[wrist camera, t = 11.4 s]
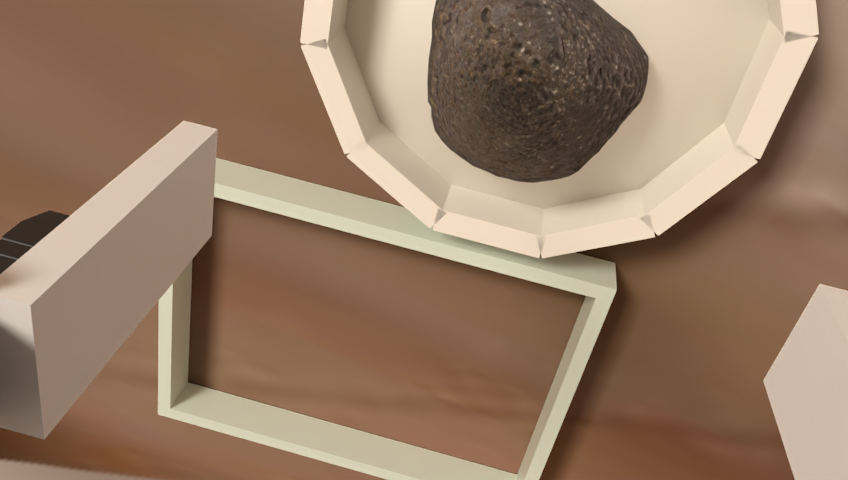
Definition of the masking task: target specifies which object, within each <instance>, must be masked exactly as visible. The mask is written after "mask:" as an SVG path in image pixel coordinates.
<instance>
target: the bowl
mask: <svg viewBox="0 0 848 480" xmlns="http://www.w3.org/2000/svg"><path fill="white" fill-rule="evenodd" d="M593 1H595V2H596V3H597V4H598V5H599V6H600V7H602V8H603V9H604V10H605V11H606V12H607V13H608V14H610V15H611V16H612V17H613V18H614V19H616V20H617V21H618V22H620V23H621V24H622V25H623V26H625V27H626V28H627V29H629V30H630V31H631V32H632V33H633V35H634V36H635V38H636V39H637V41H638V42H639V44H640V45H641V47H642V48H643V49H644V51H645V52H646V54H647V55H648V59H649V69H648V79H647V85H646V88H645V92H644V95H643V98H642V101H641V103H640V104H639V105H638V106H637V107H636V108H635V109H634V110H633V111H632V113H631V114H630V115H629V116H628V118H627V119H626V120H625V121H624V122H623V123H622V124H621V125H620V127H619V128H618V130H617V131H616V133H615V134H614V135H613V136H612V137H611V138H610V139H609V140H608V141H607V142H606V144H605V145H604V146H603V147H602V148H601V150H600V151H599V152H598V153H597V154H595V155H594V156H593V157H592V158H591V159H590V160H589V161H588V162H587V163H586V164H585V165H584V166H583V167H582V168H581V169H580V170H579V171H578V172H576V173H574V174H572V175H571V176H568V177H565V178H561V179H556V180H551V181H543V182H536V183H529V182H519V181H514V180H510V179H507V178H502V177H497V176H495V175H493V174H491V173H489V172H487V171H484V170H482V169H479V168H477V167H474V166H472V165H471V164H469V163H468V162H467V161H465V160H464V159H462V158H461V157H459V156H458V155H457V154H456V153H454V152H453V151H451V150H450V149H449V148H448V147H447V146H446V145H445V144H444V143H443V142H442V140H441V139H440V137H439V136H438V135H437V133H436V132H435V129H434V125H433V121H432V118H431V106H430V104H429V103H428V87H427V79H428V62H429V53H430V47H431V40H432V18H433V13H434V8H435V3H436V0H305V3H304V12H303V22H302V31H301V40H300V43H304V44H303V45H301V48H302V50H303V53H304V55H305V58H306V60H307V63H308V65H309V68H310V70H311V73H312V75H313V78H314V80H315V83H316V85H317V87H318V90H319V92H320V95H321V97H322V100H323V102H324V105H325V107H326V110H327V112H328V115H329V117H330V120H331V122H332V124H333V127H334V129H335V132H336V134H337V137H338V139H339V142H340V144H341V147H342V149H343V152H344V154H346V153H349V154H348V155H347V158H349V159H350V160H351V161H352V162H353V163H354V164H355V165H357V166H358V167H359V168H360V169H361V170H362V171H364V172H365V173H366V174H367V175H368V176H369V177H371V178H372V179H373V180H374V181H375V182H376V183H377V184H379V185H380V186H381V187H382V188H383V189H384V190H386V191H387V192H388V193H389V194H390V195H391V196H393V197H394V198H395V199H396V200H397V201H398V202H399V203H401V204H402V205H403V206H404V207H405V208H406V209H408V210H409V211H410V212H411V213H412V214H413V215H414V216H416V217H417V218H418V219H419V220H420V221H421V222H423V223H424V224H425V225H426V226H427V227H428V228H431V227H432V226H433V225H434V227H433V230H434V231H438V232H441V233H445V234H449V235H453V236H456V237H460V238H464V239H468V240H472V241H475V242H479V243H483V244H487V245H490V246H494V247H498V248H502V249H506V250H509V251H513V252H517V253H521V254H524V255H528V256H532V257H536V258H539V257H540V254H541V256H542V258H547V257H553V256H558V255H563V254H569V253H574V252H579V251H585V250H590V249H595V248H601V247H606V246H611V245H616V244H622V243H627V242H632V241H638V240H643V239H648V238H654V237H655V233H656V234H657V235H658V236H659V235H660V234H662V233H663V232H664V231H666V230H667V229H668V228H670V227H671V226H672V225H674V224H675V223H676V222H678V221H679V220H680V219H682V218H683V217H684V216H686V215H687V214H688V213H690V212H691V211H693V210H694V209H695V208H697V207H698V206H699V205H701V204H702V203H703V202H705V201H706V200H707V199H709V198H710V197H711V196H713V195H714V194H715V193H717V192H718V191H720V190H721V189H722V188H724V187H725V186H726V185H728V184H729V183H730V182H732V181H733V180H734V179H736V178H737V177H738V176H740V175H741V174H742V173H744V172H745V171H746V170H748V169H749V168H751V167H752V166H753V165H755V164H756V163H757V160H756V158H757V159H761V156H762V154H763V152H764V150H765V148H766V146H767V144H768V142H769V140H770V138H771V136H772V134H773V131H774V129H775V127H776V125H777V123H778V121H779V119H780V117H781V115H782V113H783V111H784V109H785V106H786V104H787V102H788V100H789V98H790V96H791V94H792V92H793V90H794V88H795V86H796V84H797V81H798V79H799V77H800V75H801V73H802V71H803V69H804V67H805V65H806V63H807V61H808V59H809V57H810V54H811V52H812V50H813V48H814V46H815V44H816V42H817V40H818V38H817V36H816V35H818V34H819V29H818V19H817V8H816V0H593ZM654 232H655V233H654Z"/></svg>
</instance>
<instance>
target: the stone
mask: <svg viewBox="0 0 848 480" xmlns="http://www.w3.org/2000/svg"><path fill="white" fill-rule="evenodd" d="M648 69H649V59H648V55H647V54H646V52H645V51H644V49H643V48H642V47H641V45H640V44H639V42H638V41H637V39H636V38H635V36H634V35H633V33H632V32H631V31H630V30H629V29H627V28H626V27H625V26H623V25H622V24H621V23H620V22H618V21H617V20H616V19H614V18H613V17H612V16H611V15H610V14H608V13H607V12H606V11H605V10H604V9H603V8H602V7H600V6H599V5H598V4H597V3H596V2H595V1H593V0H436V3H435V8H434V13H433V18H432V40H431V47H430V53H429V62H428V79H427V87H428V103H429V104H430V106H431V118H432V121H433V125H434V129H435V132H436V133H437V135H438V136H439V137H440V139H441V140H442V142H443V143H444V144H445V145H446V146H447V147H448V148H449V149H450V150H451V151H453V152H454V153H456V154H457V155H458V156H459V157H461V158H462V159H464V160H465V161H467V162H468V163H469V164H471V165H472V166H474V167H477V168H479V169H482V170H484V171H487V172H489V173H491V174H493V175H495V176H497V177H502V178H507V179H510V180H514V181H519V182H529V183H536V182H543V181H551V180H556V179H561V178H565V177H568V176H571V175H572V174H574V173H576V172H578V171H579V170H580V169H581V168H582V167H583V166H584V165H585V164H586V163H587V162H588V161H589V160H590V159H591V158H592V157H593V156H594V155H595V154H597V153H598V152H599V151H600V150H601V148H602V147H603V146H604V145H605V144H606V142H607V141H608V140H609V139H610V138H611V137H612V136H613V135H614V134H615V133H616V131H617V130H618V128H619V127H620V125H621V124H622V123H623V122H624V121H625V120H626V119H627V118H628V116H629V115H630V114H631V113H632V111H633V110H634V109H635V108H636V107H637V106H638V105H639V104H640V103H641V101H642V98H643V95H644V92H645V88H646V85H647V79H648Z"/></svg>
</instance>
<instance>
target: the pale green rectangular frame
mask: <svg viewBox="0 0 848 480" xmlns="http://www.w3.org/2000/svg"><path fill="white" fill-rule="evenodd" d="M214 197H217V198H221V199H225V200H228V201H232V202H236V203H240V204H243V205H247V206H251V207H255V208H258V209H262V210H266V211H270V212H273V213H277V214H281V215H285V216H288V217H292V218H296V219H300V220H303V221H307V222H311V223H315V224H318V225H322V226H326V227H330V228H333V229H337V230H341V231H345V232H348V233H352V234H356V235H360V236H363V237H367V238H371V239H375V240H378V241H382V242H386V243H390V244H393V245H397V246H401V247H405V248H408V249H412V250H416V251H420V252H424V253H427V254H431V255H435V256H439V257H442V258H446V259H450V260H454V261H457V262H461V263H465V264H469V265H472V266H476V267H480V268H484V269H487V270H491V271H495V272H499V273H502V274H506V275H510V276H514V277H517V278H521V279H525V280H529V281H532V282H536V283H540V284H544V285H547V286H551V287H555V288H559V289H562V290H566V291H570V292H574V293H577V294H581V295H585V296H586V297H585V299H584V302H583V305H582V307H581V310H580V312H579V315H578V318H577V320H576V323H575V325H574V328H573V331H572V333H571V336H570V338H569V341H568V344H567V346H566V349H565V351H564V354H563V357H562V359H561V362H560V364H559V367H558V370H557V372H556V375H555V377H554V380H553V383H552V385H551V388H550V390H549V393H548V396H547V398H546V401H545V403H544V406H543V409H542V411H541V414H540V417H539V419H538V422H537V424H536V427H535V430H534V432H533V435H532V437H531V440H530V443H529V445H528V448H527V450H526V453H525V456H524V458H523V461H522V463H521V466H520V469H519V471H518V474H513V473H509V472H506V471H502V470H499V469H495V468H492V467H488V466H484V465H481V464H477V463H474V462H470V461H467V460H463V459H460V458H456V457H452V456H449V455H445V454H442V453H438V452H435V451H431V450H427V449H424V448H420V447H417V446H413V445H410V444H406V443H403V442H399V441H395V440H392V439H388V438H385V437H381V436H378V435H374V434H370V433H367V432H363V431H360V430H356V429H353V428H349V427H345V426H342V425H338V424H335V423H331V422H328V421H324V420H321V419H317V418H313V417H310V416H306V415H303V414H299V413H296V412H292V411H288V410H285V409H281V408H278V407H274V406H271V405H267V404H263V403H260V402H256V401H253V400H249V399H246V398H242V397H239V396H235V395H231V394H228V393H224V392H221V391H217V390H214V389H210V388H206V387H203V386H199V385H196V384H192V383H189V382H188V368H189V341H190V313H191V286H192V260H191V262H190V263H189V264H188V265H187V266H186V268H185V269H184V270H183V271H182V273H181V274H180V275H179V276H178V277H177V279H176V280H175V281H174V282H173V283H172V285H171V286H170V287H169V288H168V290H167V291H166V292H165V293H164V294H163V296H162V297H161V298H160V299H159V346H158V415H162V416H165V417H169V418H172V419H176V420H179V421H183V422H186V423H190V424H193V425H197V426H200V427H204V428H208V429H211V430H215V431H218V432H222V433H225V434H229V435H232V436H236V437H239V438H243V439H246V440H250V441H253V442H257V443H260V444H264V445H268V446H271V447H275V448H278V449H282V450H285V451H289V452H292V453H296V454H299V455H303V456H306V457H310V458H313V459H317V460H320V461H324V462H327V463H331V464H335V465H338V466H342V467H345V468H349V469H352V470H356V471H359V472H363V473H366V474H370V475H373V476H377V477H380V478H384V479H387V480H539V479H540V476H541V474H542V471H543V469H544V467H545V464H546V462H547V459H548V457H549V454H550V452H551V450H552V447H553V445H554V442H555V440H556V437H557V435H558V432H559V430H560V428H561V425H562V423H563V420H564V418H565V415H566V413H567V410H568V408H569V406H570V403H571V401H572V398H573V396H574V393H575V391H576V388H577V386H578V384H579V381H580V379H581V376H582V374H583V371H584V369H585V366H586V364H587V362H588V359H589V357H590V354H591V352H592V349H593V347H594V345H595V342H596V340H597V337H598V335H599V332H600V330H601V327H602V325H603V323H604V320H605V318H606V315H607V313H608V310H609V308H610V305H611V303H612V301H613V298H614V296H615V293H616V291H617V283H616V268H615V263H614V262H610V261H606V260H602V259H598V258H595V257H591V256H587V255H583V254H579V253H576V252H574V253H569V254H563V255H558V256H553V257H547V258H542V256H541V254H540V257H539V258H536V257H532V256H528V255H524V254H521V253H517V252H513V251H509V250H506V249H502V248H498V247H494V246H490V245H487V244H483V243H479V242H475V241H472V240H468V239H464V238H460V237H456V236H453V235H449V234H445V233H441V232H438V231H434V230H433V227H434V225H433V226H432V227H431V228H428V227H427V226H426V225H425V224H424V223H423V222H421V221H420V220H419V219H418V218H417V217H416V216H414V215H413V214H412V213H411V212H410V211H409V210H408V209H406V208H405V207H401V206H397V205H393V204H390V203H386V202H382V201H378V200H374V199H371V198H367V197H363V196H359V195H355V194H352V193H348V192H344V191H340V190H337V189H333V188H329V187H325V186H321V185H318V184H314V183H310V182H306V181H302V180H299V179H295V178H291V177H287V176H283V175H280V174H276V173H272V172H268V171H264V170H261V169H257V168H253V167H249V166H245V165H242V164H238V163H234V162H230V161H226V160H223V159H219V158H216V167H215V186H214Z"/></svg>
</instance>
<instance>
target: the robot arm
mask: <svg viewBox="0 0 848 480" xmlns="http://www.w3.org/2000/svg"><path fill="white" fill-rule="evenodd" d="M217 130H218V129H215V128H211V127H207V126H203V125H199V124H195V123H191V122H187V121H183V122H181V123H180V124H179V125H178V126H177V127H176V128H174V129H173V130H172V131H171V132H170V133H168V134H167V135H166V136H165V137H164V138H162V139H161V140H160V141H159V142H158V143H156V144H155V145H154V146H153V147H152V148H150V149H149V150H148V151H147V152H146V153H144V154H143V155H142V156H141V157H140V158H138V159H137V160H136V161H135V162H134V163H133V164H131V165H130V166H129V167H128V168H127V169H125V170H124V171H123V172H122V173H121V174H119V175H118V176H117V177H116V178H115V179H113V180H112V181H111V182H110V183H109V184H107V185H106V186H105V187H104V188H103V189H101V190H100V191H99V192H98V193H97V194H96V195H94V196H93V197H92V198H91V199H90V200H88V201H87V202H86V203H85V204H84V205H82V206H81V207H80V208H79V209H78V210H76V211H75V212H74V213H73V214H72V215H70V216H68V215H65V214H61V213H57V212H53V211H47V212H45V213H42V214H39V215H37V216H34V217H31V218H29V219H26V220H23V221H21V222H20V223H19V224H18V225H16V226H15V227H14V228H12V229H11V230H10V231H8V232H7V233H6V234H5V235H3V236H2V239H1V240H0V428H4V429H7V430H11V431H15V432H18V433H22V434H25V435H29V436H33V437H36V438H40V439H43V440H44V439H45V438H46V437H47V436H48V435H49V433H50V432H51V431H52V430H53V428H54V427H55V426H56V425H57V424H58V422H59V421H60V420H61V419H62V417H63V416H64V415H65V414H66V413H67V411H68V410H69V409H70V408H71V407H72V405H73V404H74V403H75V402H76V400H77V399H78V398H79V397H80V396H81V394H82V393H83V392H84V391H85V389H86V388H87V387H88V386H89V385H90V383H91V382H92V381H93V380H94V379H95V377H96V376H97V375H98V374H99V372H100V371H101V370H102V369H103V368H104V366H105V365H106V364H107V363H108V361H109V360H110V359H111V358H112V357H113V355H114V354H115V353H116V352H117V350H118V349H119V348H120V347H121V346H122V344H123V343H124V342H125V341H126V340H127V338H128V337H129V336H130V335H131V333H132V332H133V331H134V330H135V329H136V327H137V326H138V325H139V324H140V322H141V321H142V320H143V319H144V318H145V316H146V315H147V314H148V313H149V312H150V310H151V309H152V308H153V307H154V305H155V304H156V303H157V302H158V301H159V299H160V298H161V297H162V296H163V294H164V293H165V292H166V291H167V290H168V288H169V287H170V286H171V285H172V283H173V282H174V281H175V280H176V279H177V277H178V276H179V275H180V274H181V273H182V271H183V270H184V269H185V268H186V266H187V265H188V264H189V263H190V262H191V260H192V259H193V258H194V257H195V255H196V254H197V253H198V252H199V251H200V249H201V248H202V247H203V246H204V244H205V243H206V242H207V241H208V240H209V238H210V237H211V236H212V223H213V205H214V186H215V167H216V149H217ZM763 381H764V385H765V388H766V391H767V394H768V397H769V400H770V403H771V407H772V410H773V413H774V416H775V419H776V422H777V425H778V428H779V432H780V435H781V438H782V441H783V444H784V447H785V450H786V454H787V457H788V460H789V463H790V466H791V469H792V472H793V475H794V479H795V480H848V291H846V290H842V289H838V288H834V287H831V286H827V285H823V284H819V286H818V287H817V289H816V291H815V293H814V294H813V296H812V298H811V299H810V301H809V303H808V305H807V306H806V308H805V310H804V311H803V313H802V315H801V317H800V318H799V320H798V322H797V323H796V325H795V327H794V329H793V330H792V332H791V334H790V336H789V337H788V339H787V341H786V342H785V344H784V346H783V348H782V349H781V351H780V353H779V354H778V356H777V358H776V360H775V361H774V363H773V365H772V366H771V368H770V370H769V372H768V373H767V375H766V377H765V378H764V380H763Z"/></svg>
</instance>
